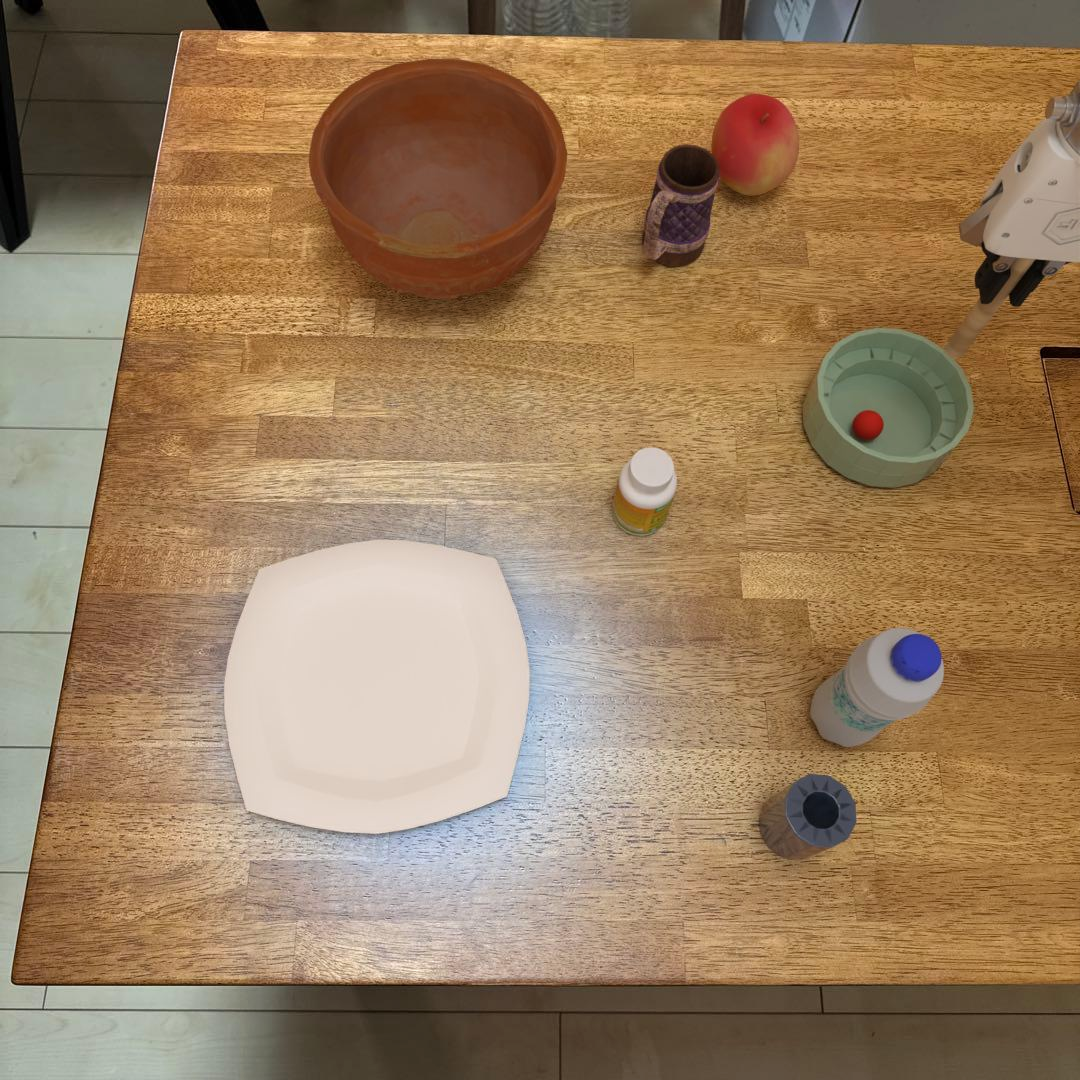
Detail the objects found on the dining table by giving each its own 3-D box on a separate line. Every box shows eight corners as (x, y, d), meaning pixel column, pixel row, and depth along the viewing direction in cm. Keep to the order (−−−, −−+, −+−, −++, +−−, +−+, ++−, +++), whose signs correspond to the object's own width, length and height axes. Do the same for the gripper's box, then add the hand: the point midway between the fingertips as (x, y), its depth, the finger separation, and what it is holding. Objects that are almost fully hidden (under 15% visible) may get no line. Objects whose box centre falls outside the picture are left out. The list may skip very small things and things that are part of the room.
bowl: (311, 331, 107) (283, 235, 93) (356, 151, 117) (336, 40, 103) (545, 359, 107) (551, 267, 93) (570, 175, 116) (579, 68, 103)
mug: (663, 207, 115) (680, 125, 104) (716, 238, 114) (739, 159, 103) (612, 265, 112) (623, 187, 101) (665, 298, 110) (683, 222, 99)
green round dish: (941, 366, 108) (965, 333, 102) (955, 495, 102) (981, 467, 96) (798, 356, 108) (814, 322, 102) (804, 484, 102) (821, 455, 96)
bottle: (891, 716, 92) (987, 651, 74) (846, 769, 90) (933, 715, 72) (833, 665, 94) (912, 589, 76) (787, 716, 92) (858, 650, 74)
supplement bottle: (650, 546, 98) (665, 503, 89) (602, 521, 99) (611, 475, 90) (675, 503, 100) (692, 457, 91) (627, 478, 101) (639, 430, 92)
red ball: (876, 420, 104) (886, 405, 101) (878, 446, 103) (889, 431, 100) (847, 418, 104) (856, 403, 101) (849, 444, 103) (858, 429, 100)
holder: (821, 795, 89) (854, 776, 81) (824, 861, 87) (858, 849, 79) (758, 791, 89) (784, 771, 81) (759, 857, 87) (786, 844, 79)
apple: (696, 204, 115) (713, 137, 106) (709, 142, 119) (726, 72, 110) (780, 221, 115) (804, 155, 106) (790, 158, 119) (814, 89, 109)
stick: (963, 342, 93) (1038, 241, 80) (965, 359, 92) (1041, 259, 79) (943, 341, 93) (1015, 239, 80) (945, 357, 92) (1018, 257, 79)
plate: (237, 552, 97) (232, 544, 95) (521, 541, 98) (522, 532, 96) (219, 845, 86) (213, 842, 84) (537, 827, 88) (538, 824, 86)
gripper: (1011, 154, 66) (906, 321, 83) (1252, 173, 66) (1098, 336, 83) (998, 69, 69) (899, 247, 86) (1229, 87, 69) (1085, 262, 86)
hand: (998, 290), depth 84 cm, fingers closed on stick, 1 cm apart
